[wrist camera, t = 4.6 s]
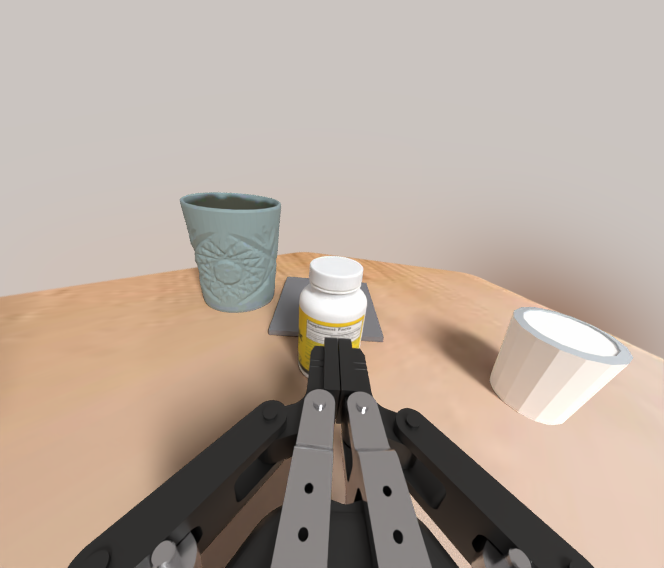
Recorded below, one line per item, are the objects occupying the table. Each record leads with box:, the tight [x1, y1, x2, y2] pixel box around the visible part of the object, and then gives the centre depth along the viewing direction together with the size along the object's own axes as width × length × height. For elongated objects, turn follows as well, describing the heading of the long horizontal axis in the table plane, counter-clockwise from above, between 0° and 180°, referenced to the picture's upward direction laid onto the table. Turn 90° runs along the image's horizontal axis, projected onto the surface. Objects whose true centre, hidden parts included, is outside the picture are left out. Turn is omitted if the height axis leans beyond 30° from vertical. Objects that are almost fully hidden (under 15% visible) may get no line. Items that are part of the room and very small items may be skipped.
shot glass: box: [490, 307, 633, 425], centre depth 20 cm, size 7×7×7 cm
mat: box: [269, 277, 384, 342], centre depth 31 cm, size 13×12×1 cm
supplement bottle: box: [298, 256, 367, 378], centre depth 20 cm, size 5×5×10 cm
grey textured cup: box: [180, 193, 281, 313], centre depth 29 cm, size 10×10×12 cm
